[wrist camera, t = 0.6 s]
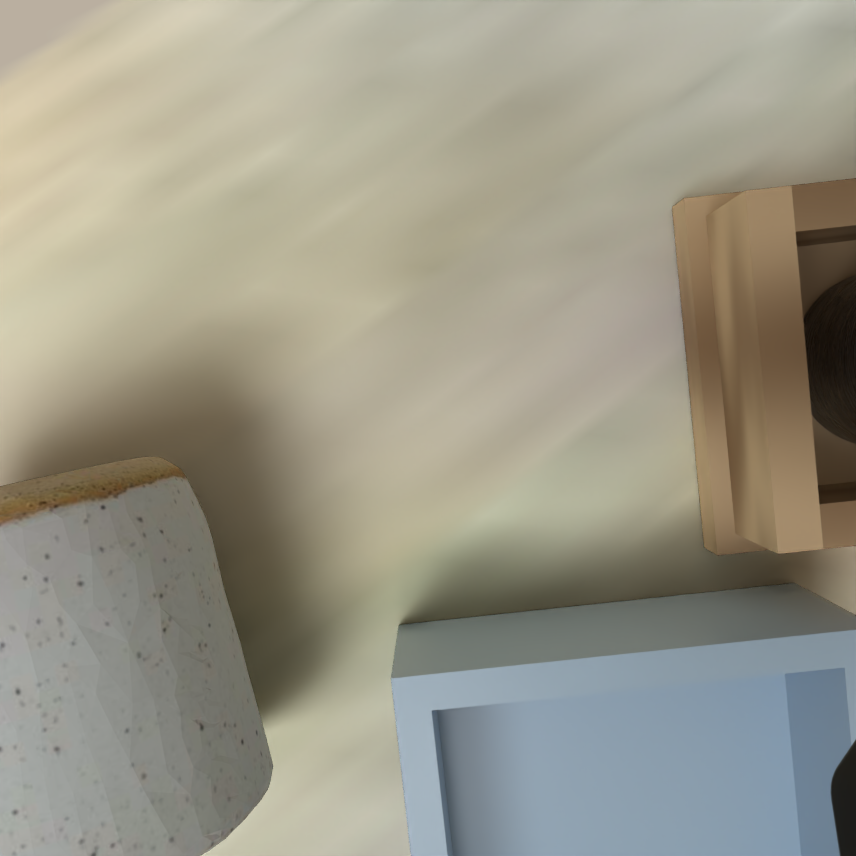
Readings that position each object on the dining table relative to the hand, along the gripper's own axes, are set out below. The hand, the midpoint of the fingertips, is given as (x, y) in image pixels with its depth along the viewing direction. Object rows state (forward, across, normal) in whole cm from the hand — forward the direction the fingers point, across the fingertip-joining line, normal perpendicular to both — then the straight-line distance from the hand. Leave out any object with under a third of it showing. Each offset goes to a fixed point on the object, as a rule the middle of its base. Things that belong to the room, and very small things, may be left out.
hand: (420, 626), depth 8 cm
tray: (+9, -7, +12) cm, 17 cm away
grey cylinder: (+10, +8, +12) cm, 17 cm away
